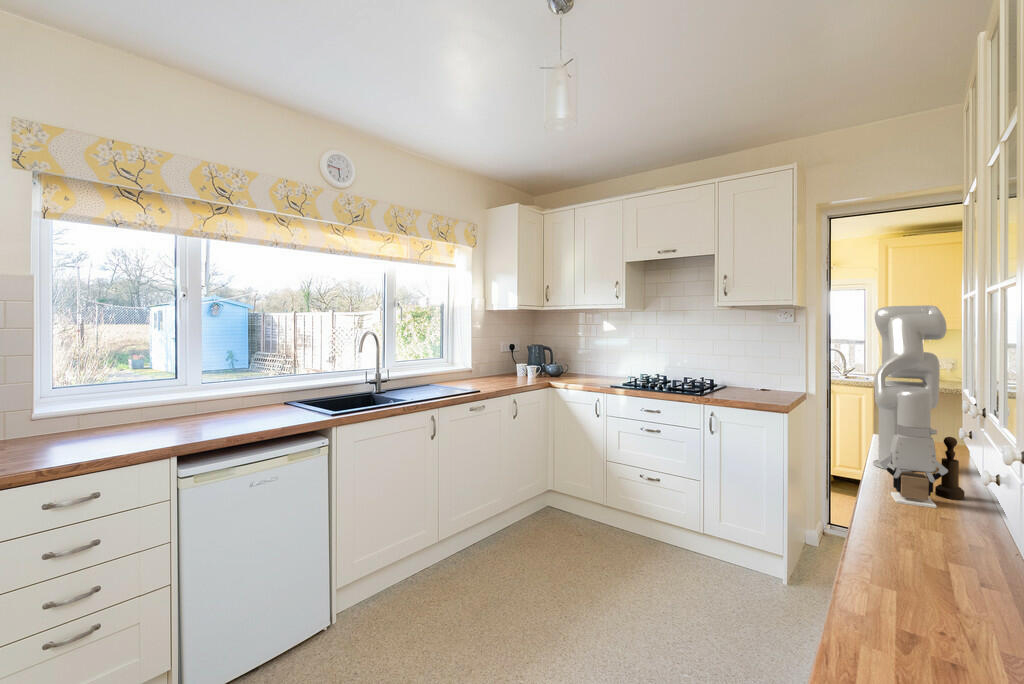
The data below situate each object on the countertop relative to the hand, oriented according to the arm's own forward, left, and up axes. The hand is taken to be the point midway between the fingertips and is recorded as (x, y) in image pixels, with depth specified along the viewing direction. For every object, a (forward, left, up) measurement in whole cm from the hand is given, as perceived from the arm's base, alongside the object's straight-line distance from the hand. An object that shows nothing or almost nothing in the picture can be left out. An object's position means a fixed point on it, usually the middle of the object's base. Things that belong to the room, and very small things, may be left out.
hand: (912, 491), depth 143 cm
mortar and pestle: (-10, +10, -3) cm, 15 cm away
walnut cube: (0, 0, -1) cm, 1 cm away
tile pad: (0, 0, -3) cm, 3 cm away
